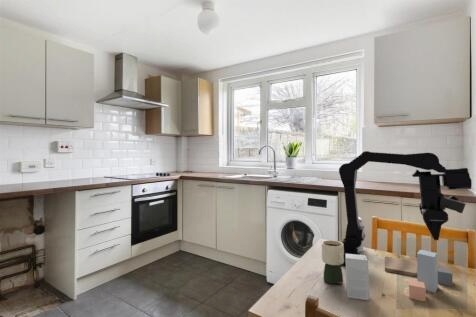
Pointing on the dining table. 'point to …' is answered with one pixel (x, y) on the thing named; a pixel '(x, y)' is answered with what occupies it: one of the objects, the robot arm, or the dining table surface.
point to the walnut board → (401, 266)
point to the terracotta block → (416, 290)
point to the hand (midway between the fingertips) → (434, 236)
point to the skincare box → (357, 276)
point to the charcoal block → (445, 276)
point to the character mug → (333, 260)
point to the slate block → (427, 269)
